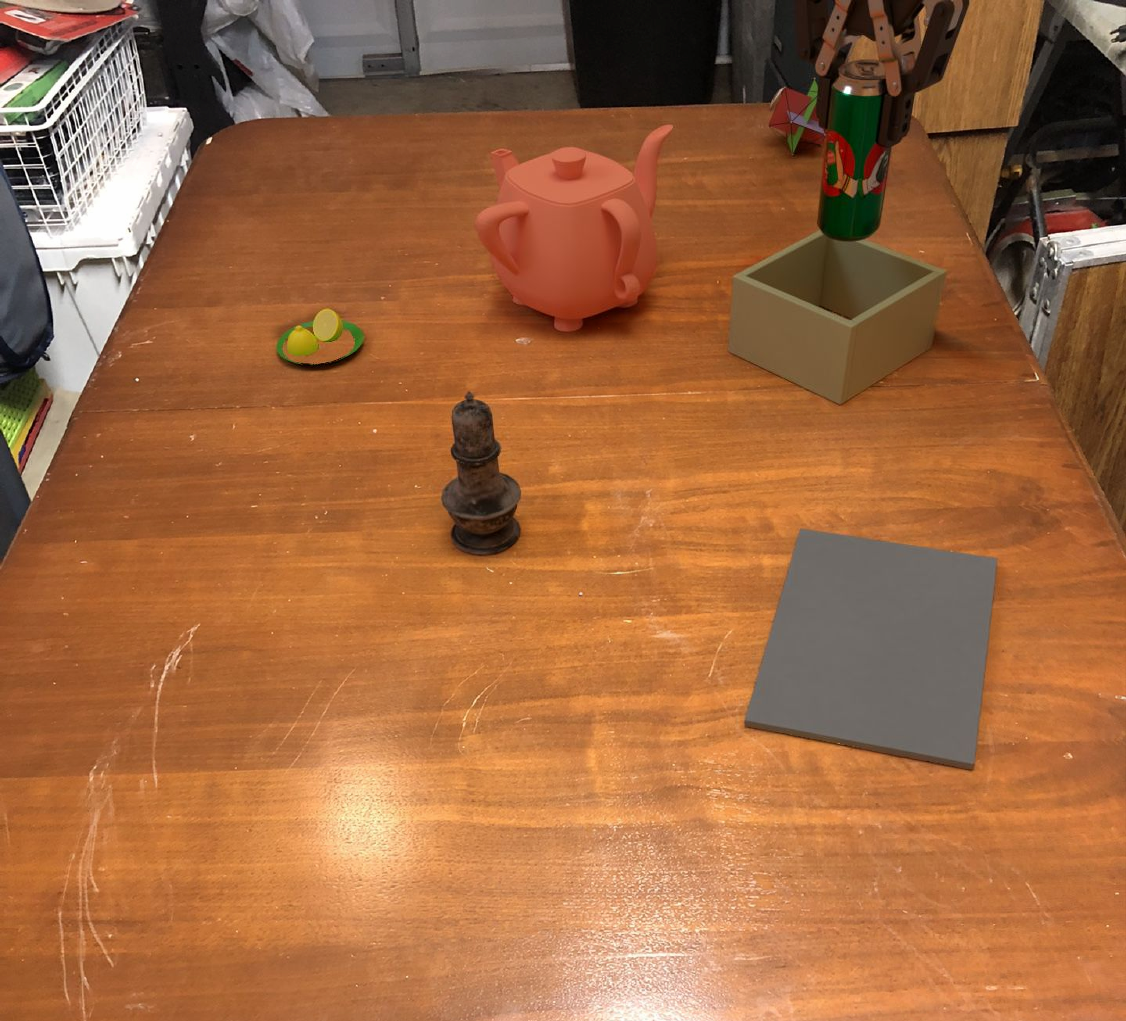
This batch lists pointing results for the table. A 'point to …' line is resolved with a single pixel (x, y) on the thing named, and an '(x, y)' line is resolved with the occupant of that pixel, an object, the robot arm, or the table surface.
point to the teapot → (574, 230)
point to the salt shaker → (480, 484)
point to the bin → (823, 339)
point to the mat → (878, 648)
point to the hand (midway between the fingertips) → (859, 134)
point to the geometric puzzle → (797, 116)
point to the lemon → (317, 334)
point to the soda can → (854, 154)
